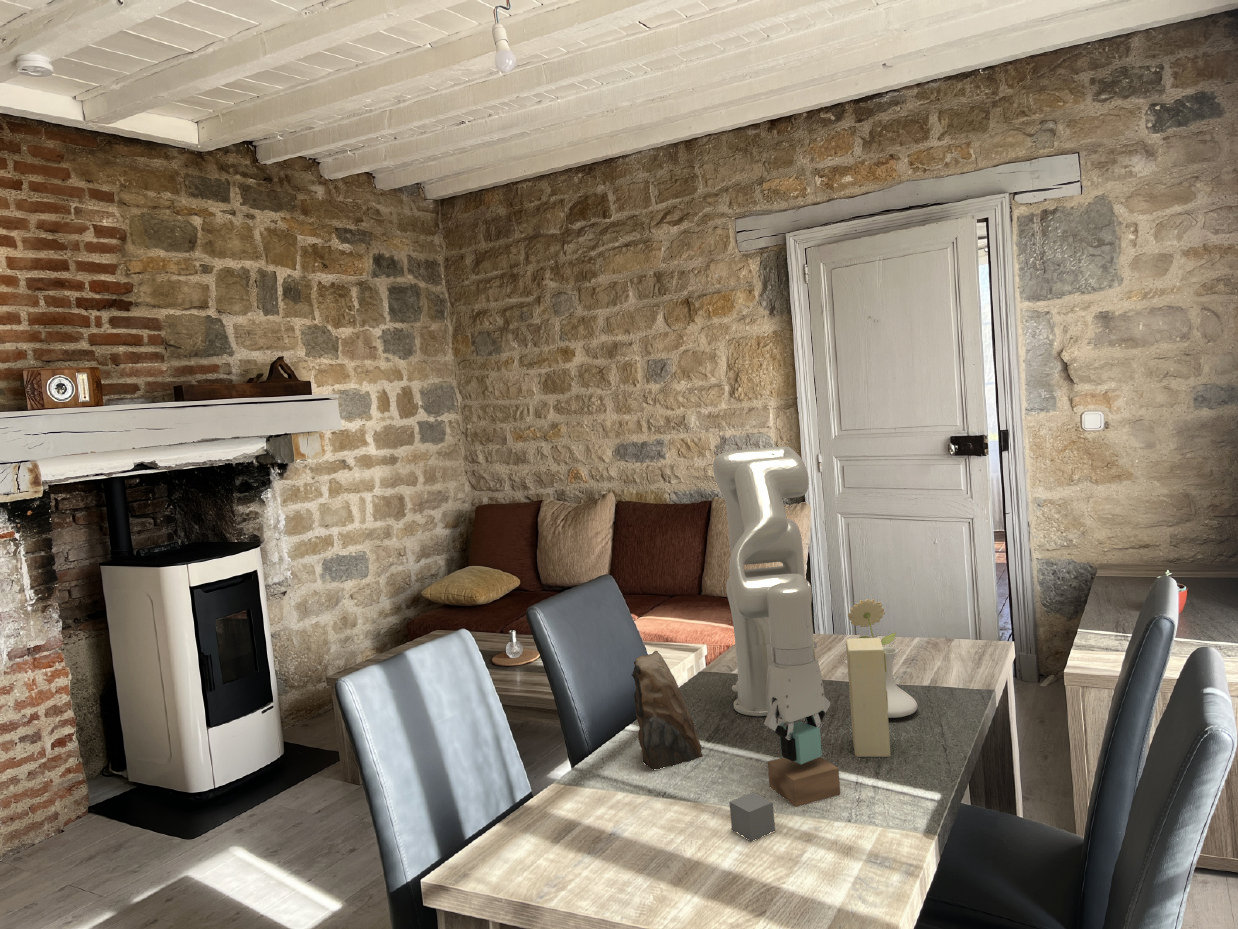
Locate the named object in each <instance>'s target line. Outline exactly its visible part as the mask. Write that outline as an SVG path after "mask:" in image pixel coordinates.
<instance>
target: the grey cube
mask: <svg viewBox="0 0 1238 929" xmlns="http://www.w3.org/2000/svg"><path fill="white" fill-rule="evenodd" d="M728 803H729V812H730V814H729V815H730V824H731V831H732V830H733V831H732V832H734V831H735V832H738V833H739V834H740V835H739V834H738V835H739V836H741V835H743V836H744V837H745V838H744V837H743V838H744V839H746V838H747V839H749V840H750V841H749V840H748V841H749V842H751V841H753V840H755V839H757V838H759V839H761V837H762V836H764V835H766V836H768V835H767V834H769V833H770V832H773V831H775V832H776V824H775V812H774V802H773V801H771V800H769V799H767V798H765V797H764V796H762V795H760V794H757V793H755V792H754V791H752V792H750V793H747V794H744V795H742V796H740V797H737V798H735V799H732V800H730V801H728ZM735 832H734V833H735ZM773 833H774V832H773ZM769 835H770V834H769ZM764 837H765V836H764ZM762 838H763V837H762ZM747 839H746V840H747ZM757 840H758V839H757ZM755 841H756V840H755ZM753 842H754V841H753Z"/></svg>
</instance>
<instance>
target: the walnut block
mask: <svg viewBox="0 0 1238 929" xmlns="http://www.w3.org/2000/svg"><path fill="white" fill-rule="evenodd" d="M839 770H840V769H839V767H837V766H836V765H834V764H833V763H831V762H829V761H828V760H826V759H824V758H823V757H822V756H821V757H818V758H816V759H813V760H811V761H808V762H806V763H803V764H799V763H797V762H794V761H791V760H789V759H786V758H784V757H783V756H782V757H781V758H777V759H771V760H767V773H768V774H767V775H768V783H769V784H768V785H769V788H770V787H771V788H770V789H772V790H773V791H774V790H775V791H776V792H775V793H777V794H778V795H779V794H780V795H779V796H781V797H782V798H783V797H784V798H783V799H784V800H786V801H787V802H788V801H789V802H788V803H790V804H791V805H792V804H793V805H792V806H794V808H797V807H800V805H801V806H805V805H808V804H811V803H815V801H816V802H819V801H822V800H826V799H829V797H830V798H832V797H837V796H840V795H841V784H840V783H841V782H840V772H839ZM804 804H805V805H804Z"/></svg>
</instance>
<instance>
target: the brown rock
mask: <svg viewBox="0 0 1238 929" xmlns="http://www.w3.org/2000/svg"><path fill="white" fill-rule="evenodd" d="M633 664H634V667H633V670H632V671H633V672H632V674H631V676H632V678H633V680H634V684H635V685H634V686H635V691H634V695H633V697H634V705H635V716H636V720H637V723H638V728H639V730H638V732H637V734H638V737H637V739H638V743H639V746H640V748H641V755H642V756H641V757H642V760H643V762H644V763H645V764H646V765H645V766H647V765H648V766H649V767H650V768H651V769H653V770H652V771H655V770H654V769H660V768H663V767H666V768H668V767H674V766H676V765H680V764H682V762H683V763H688V762H692V761H695V760H696V759H700V758H703V757H704V756H703V752H702V748H703V747H702V744H701V741H700V738H699V736H698V733H697V731H696V728H695V724H694V720H693V719H692V715H691V714H690V711H689V709H688V706H687V703H686V702H685V699H684V696H683V695H682V692H681V690H680V688H679V685H678V683H677V681H676V678H675V676H674V675H673V673H672V672H671V669H670V667H669V665H668V664H667V662H666V660H665V659H664V658H663V656H662V655H661V653H660V652H659V651H658V650H654V651H653V652H652V653H649V654H644V655H640V656H638V657H636V659H635V660H634V661H633ZM691 760H692V761H691ZM643 762H642V763H643ZM644 763H643V764H644ZM679 763H680V764H679ZM673 765H674V766H673ZM648 766H647V767H648ZM649 767H648V768H649ZM650 768H649V769H650ZM651 769H650V770H651ZM663 769H664V768H663ZM660 770H661V769H660Z"/></svg>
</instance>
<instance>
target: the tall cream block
mask: <svg viewBox="0 0 1238 929" xmlns="http://www.w3.org/2000/svg"><path fill="white" fill-rule="evenodd" d="M881 640H882V639H881V638H880V637H874V638H873V637H872V638H859V637H857V638H856V637H854V638H853V637H852V638H846V639H845V644H846V645H845V648H846V658H847V659H846V660H847V675H848V676H847V678H848V690H849V705H850V717H851V733H852V742H853V743H852V744H853V751H854V756H855V757H857V758H859V757H866V758H868V757H870V758H873V757H875V758H876V757H879V758H882V757H883V758H884V757H891V742H890V741H891V740H890V727H889V725H890V724H889V718H888V698H887V690H886V678H885V672H887V671H886V655H885V652H884V650H883V647H884V645H882V643H881Z"/></svg>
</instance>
